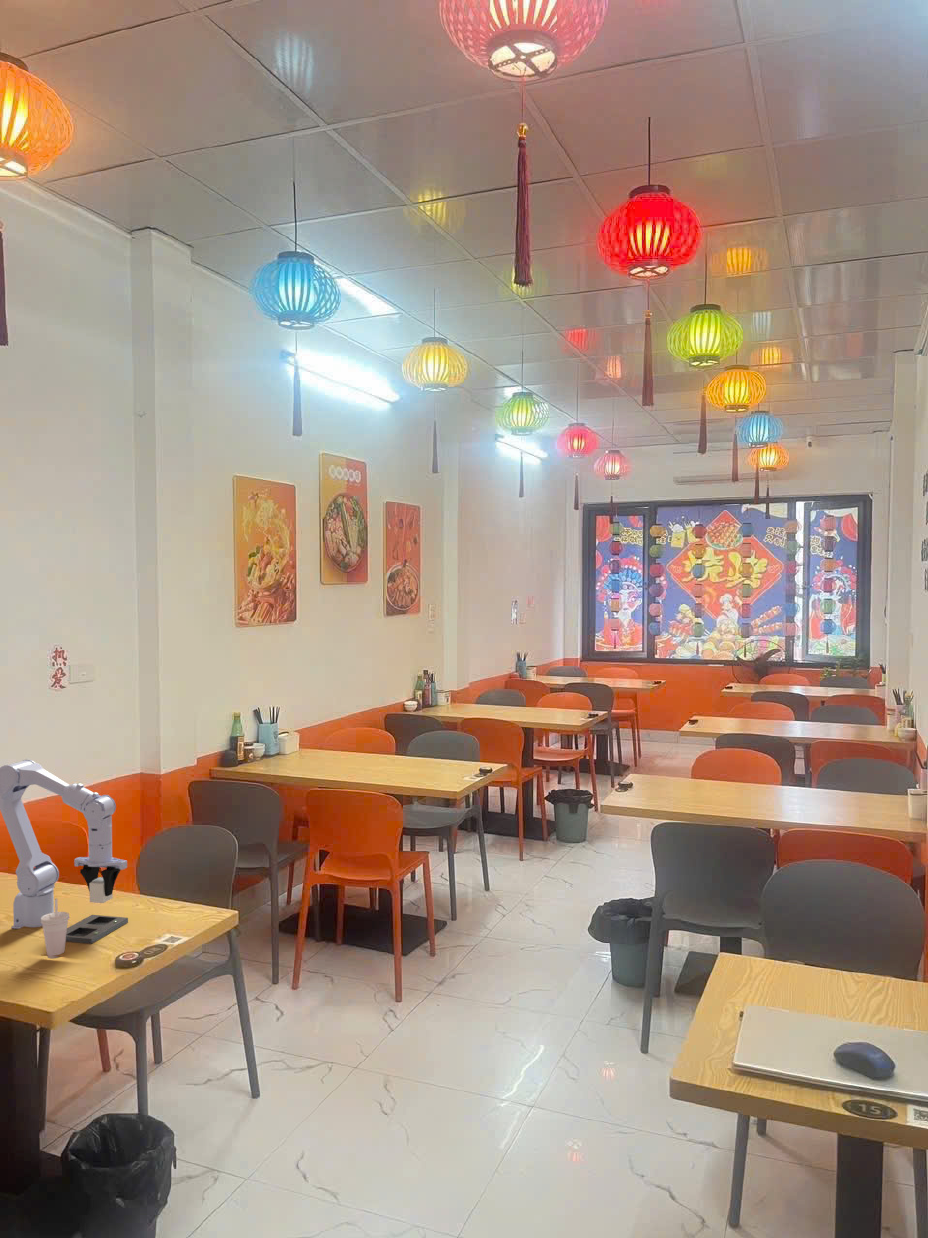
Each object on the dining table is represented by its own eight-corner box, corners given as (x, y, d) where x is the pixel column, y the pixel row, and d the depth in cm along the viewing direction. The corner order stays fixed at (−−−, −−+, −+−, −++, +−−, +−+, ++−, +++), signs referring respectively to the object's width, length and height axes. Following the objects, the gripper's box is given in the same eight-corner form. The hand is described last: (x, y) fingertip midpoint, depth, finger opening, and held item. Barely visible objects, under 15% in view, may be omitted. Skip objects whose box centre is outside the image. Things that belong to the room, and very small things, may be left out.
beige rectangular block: (89, 902, 229) (89, 881, 229) (99, 897, 233) (99, 876, 233) (103, 903, 228) (102, 882, 228) (112, 898, 232) (112, 877, 232)
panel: (53, 943, 221) (53, 934, 221) (92, 922, 235) (91, 914, 235) (91, 947, 218) (91, 938, 218) (128, 925, 233) (128, 917, 233)
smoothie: (51, 963, 209) (50, 904, 208) (35, 957, 212) (34, 900, 212) (75, 953, 214) (74, 897, 214) (59, 948, 217) (59, 892, 217)
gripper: (66, 845, 228) (67, 897, 228) (115, 849, 225) (115, 901, 225) (83, 838, 235) (84, 888, 235) (131, 841, 232) (132, 892, 232)
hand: (101, 894), depth 230 cm, fingers closed on beige rectangular block, 4 cm apart
